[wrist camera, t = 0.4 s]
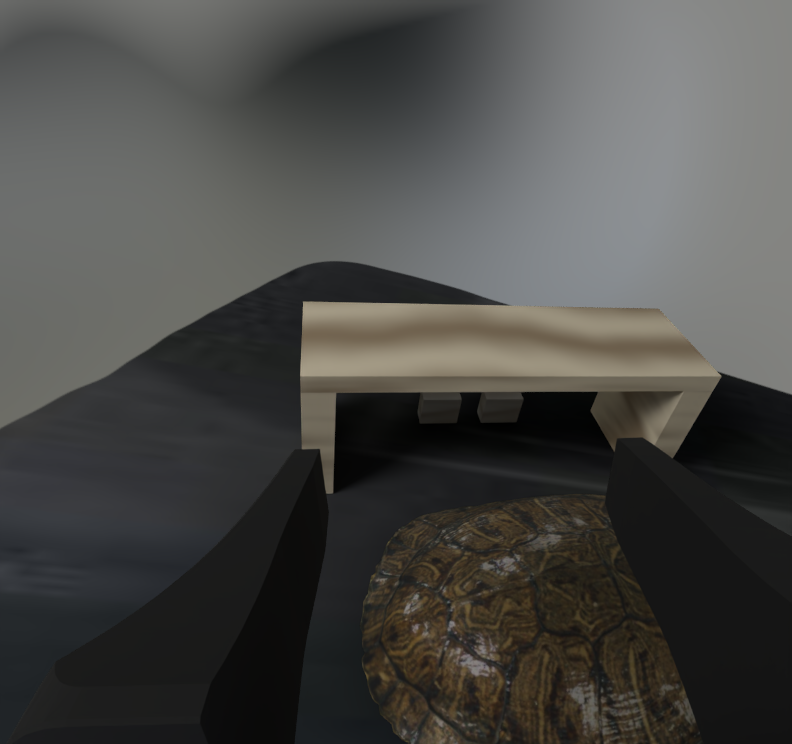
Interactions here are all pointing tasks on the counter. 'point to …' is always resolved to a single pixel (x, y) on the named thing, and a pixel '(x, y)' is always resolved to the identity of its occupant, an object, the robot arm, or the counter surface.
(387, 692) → the turtle shell
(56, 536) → the counter surface
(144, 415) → the counter surface
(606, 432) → the birch shelf
